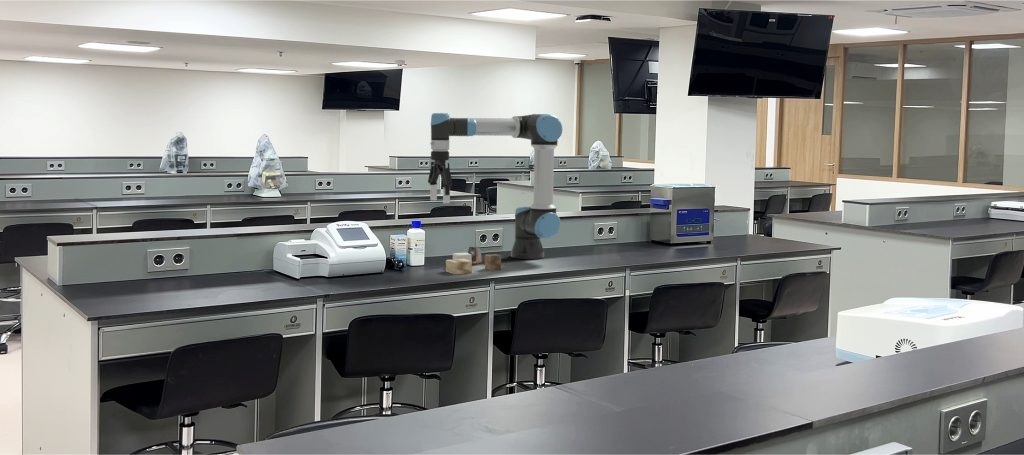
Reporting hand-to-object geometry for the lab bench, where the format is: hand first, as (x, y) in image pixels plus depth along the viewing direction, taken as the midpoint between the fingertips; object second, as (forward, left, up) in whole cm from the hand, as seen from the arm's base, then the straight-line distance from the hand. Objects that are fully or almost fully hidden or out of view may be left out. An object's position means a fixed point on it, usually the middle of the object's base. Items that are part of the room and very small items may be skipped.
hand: (439, 201), depth 388 cm
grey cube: (-9, +3, -28) cm, 30 cm away
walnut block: (-19, +12, -28) cm, 36 cm away
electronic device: (-18, -5, -28) cm, 34 cm away
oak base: (-3, +13, -28) cm, 31 cm away
